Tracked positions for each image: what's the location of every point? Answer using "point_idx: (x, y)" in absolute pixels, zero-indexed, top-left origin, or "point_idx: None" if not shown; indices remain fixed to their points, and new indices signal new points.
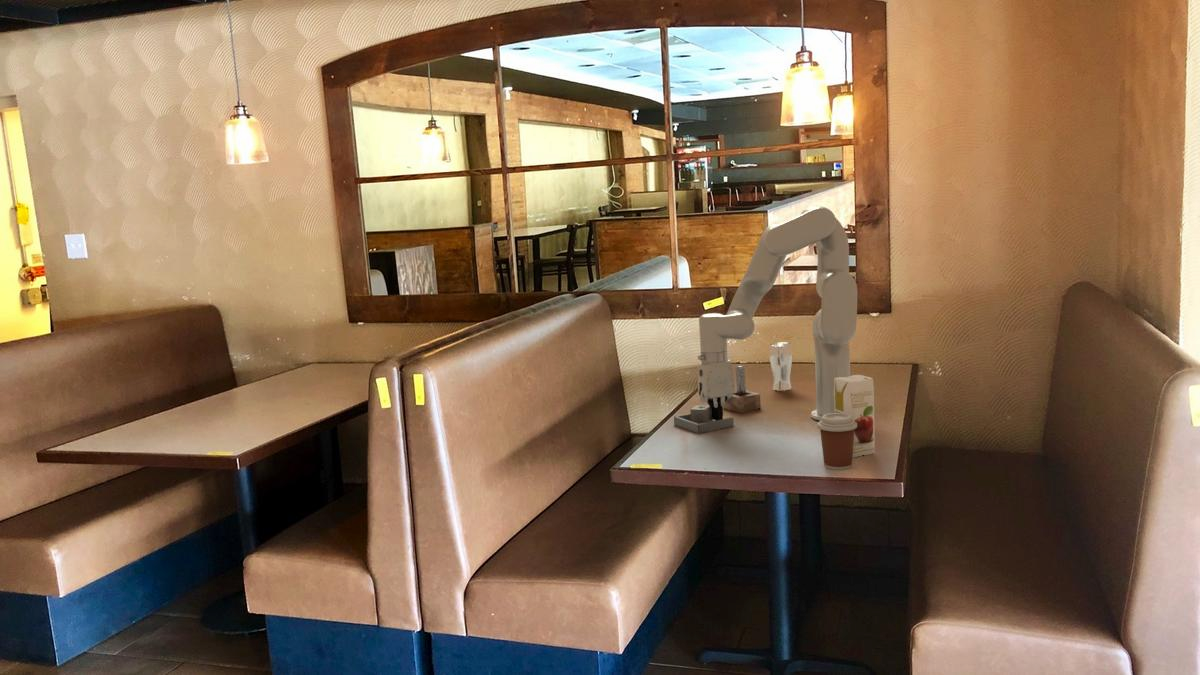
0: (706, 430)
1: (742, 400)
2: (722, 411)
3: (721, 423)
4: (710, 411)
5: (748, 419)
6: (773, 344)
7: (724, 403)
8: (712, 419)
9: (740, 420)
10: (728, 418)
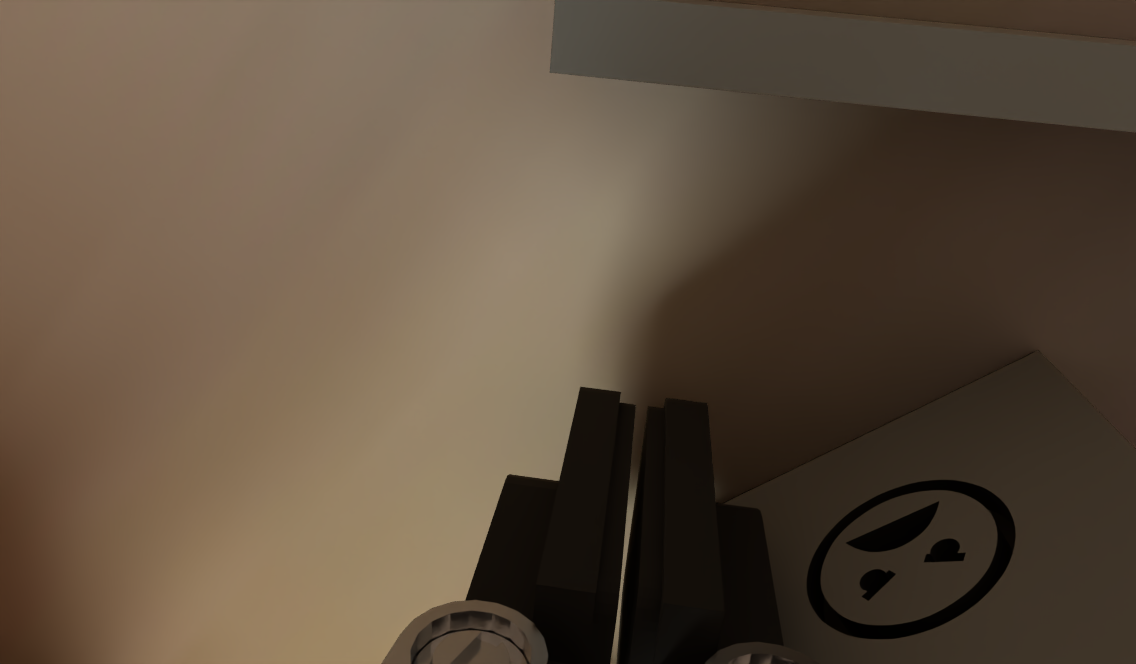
0: None
1: None
2: (557, 491)
3: (998, 30)
4: (887, 657)
5: (23, 185)
6: None
7: (394, 653)
8: None
9: (193, 248)
10: (737, 24)
